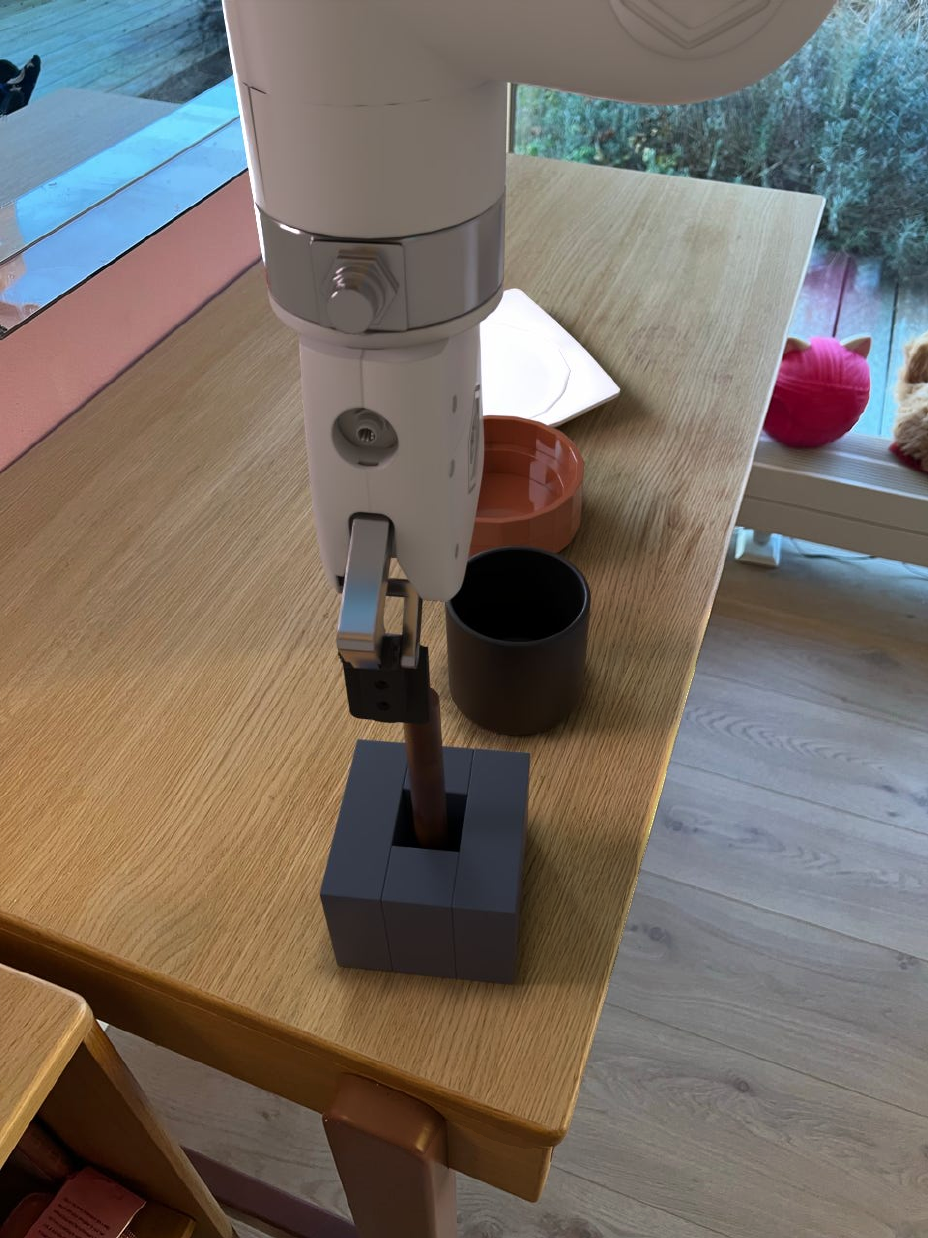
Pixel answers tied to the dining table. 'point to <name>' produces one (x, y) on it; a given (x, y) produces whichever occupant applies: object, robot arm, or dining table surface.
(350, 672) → the robot arm
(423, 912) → the holder
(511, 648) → the mug
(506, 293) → the plate
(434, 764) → the stick
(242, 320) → the dining table surface
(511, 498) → the bowl
